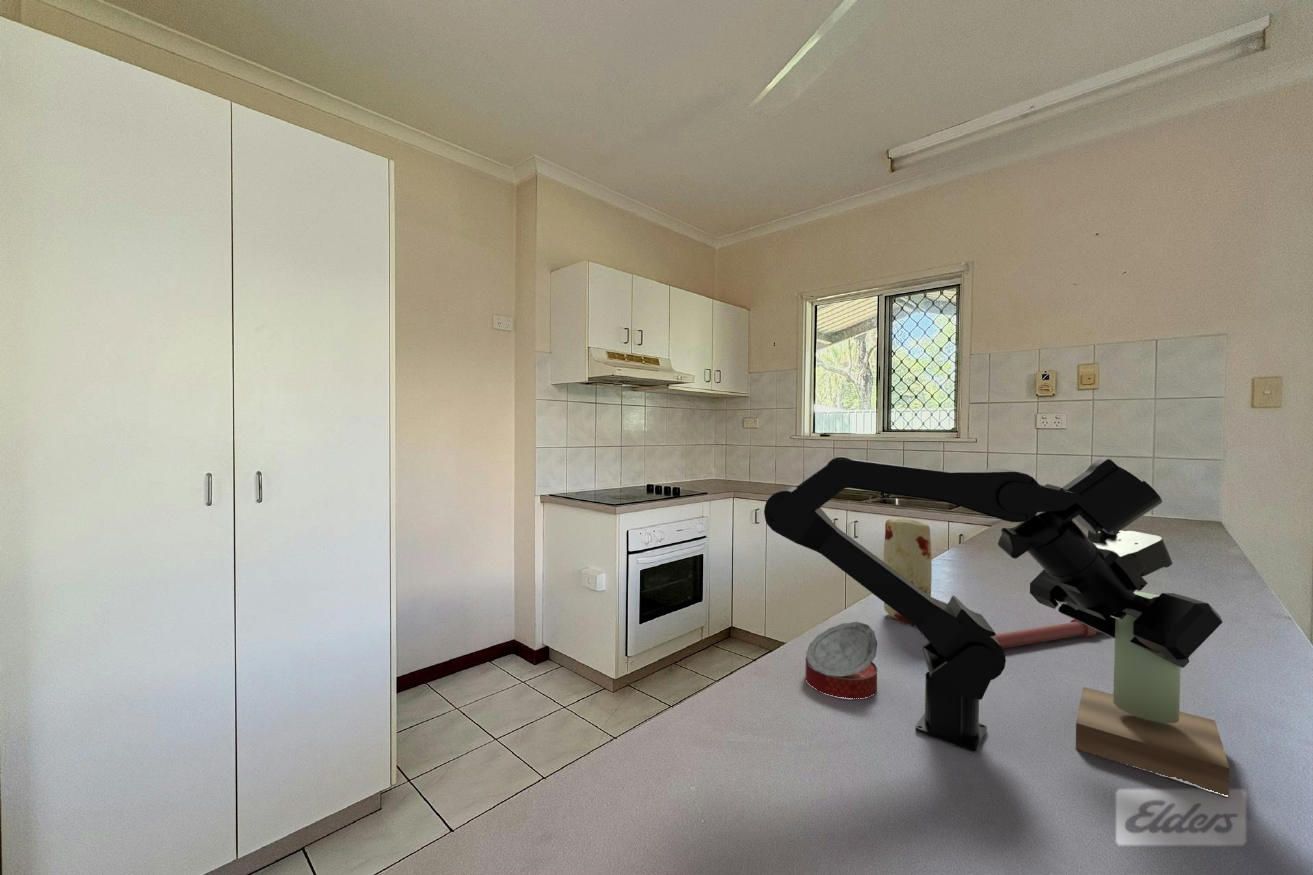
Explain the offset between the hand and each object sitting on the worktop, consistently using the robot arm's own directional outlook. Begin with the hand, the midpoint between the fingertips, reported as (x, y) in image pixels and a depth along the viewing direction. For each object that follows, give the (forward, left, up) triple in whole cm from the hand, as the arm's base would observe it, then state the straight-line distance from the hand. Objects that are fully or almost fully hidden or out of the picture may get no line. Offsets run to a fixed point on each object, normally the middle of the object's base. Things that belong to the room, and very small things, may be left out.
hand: (1158, 653), depth 61 cm
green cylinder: (-1, +1, -7) cm, 7 cm away
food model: (+24, +34, -11) cm, 43 cm away
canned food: (-10, +33, -11) cm, 37 cm away
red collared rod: (+34, +11, -11) cm, 38 cm away
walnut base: (-1, +1, -11) cm, 11 cm away
